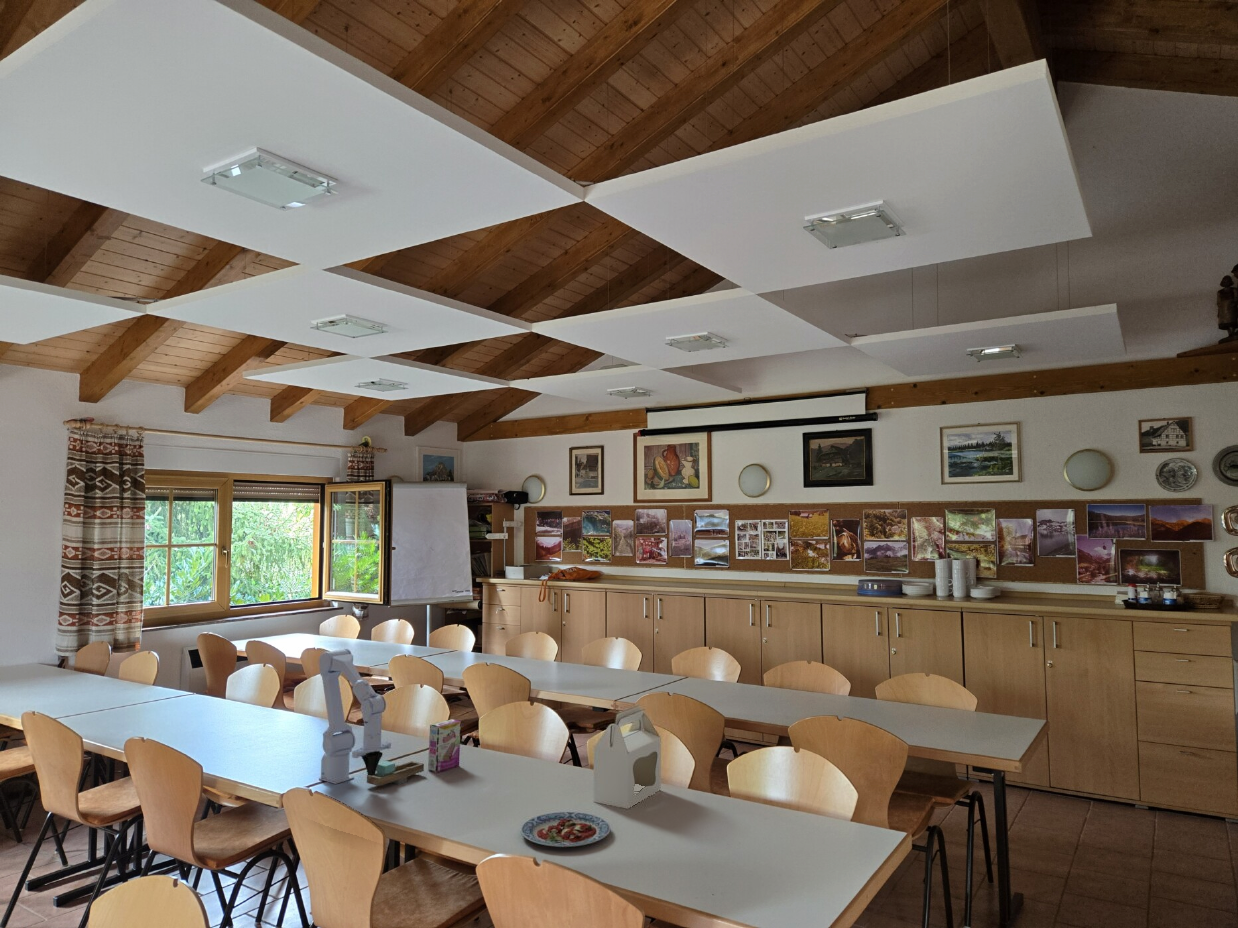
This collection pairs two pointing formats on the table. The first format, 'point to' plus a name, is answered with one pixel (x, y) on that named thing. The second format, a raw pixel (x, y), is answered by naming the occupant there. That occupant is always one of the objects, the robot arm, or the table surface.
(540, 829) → the ceramic plate
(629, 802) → the gable box
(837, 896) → the table surface
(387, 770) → the block
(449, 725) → the candy bar box
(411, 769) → the wooden tray
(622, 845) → the table surface
